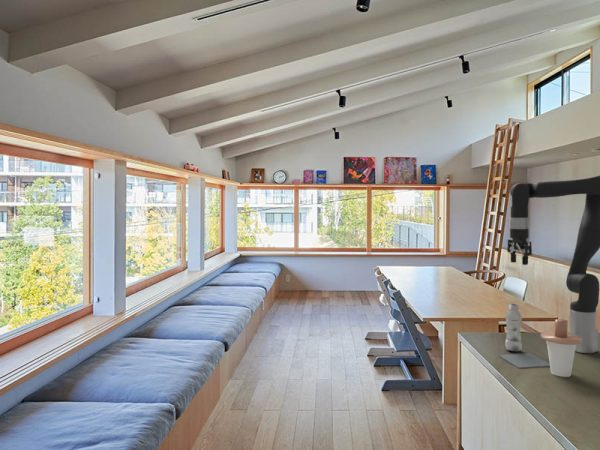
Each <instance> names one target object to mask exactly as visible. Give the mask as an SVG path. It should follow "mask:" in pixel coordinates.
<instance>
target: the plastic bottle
mask: <svg viewBox="0 0 600 450" xmlns="http://www.w3.org/2000/svg"><path fill="white" fill-rule="evenodd" d="M508 309H509V310H508V311H507V312H506V313H505V323H506V338H505V341H504V345H505V348H506V350H507V351H511V352H520V351H522V347H523V345H522V340H521V339H522V338H521V329H522V321H523V317H522V314H521V312H520V311H519V304H517V303H509V304H508Z"/></svg>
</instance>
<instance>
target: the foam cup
mask: <svg viewBox="0 0 600 450" xmlns="http://www.w3.org/2000/svg"><path fill="white" fill-rule="evenodd" d="M545 343H546V347H547V353H548V359H549V360H548V363H549V364H550V366H549V369H550V373H551V374H552V375H554V376H557V377H561V378H562V377H563V378H567V377H568V378H569V377H571V376H572V373H573V372H572V370H573V365H574V359H575V354H576V351H575V348H576V344H575V345H566V344H558V343H553V342H549V341H546V340H545Z"/></svg>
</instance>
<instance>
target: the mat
mask: <svg viewBox="0 0 600 450" xmlns="http://www.w3.org/2000/svg"><path fill="white" fill-rule="evenodd" d="M497 357H499V358H501V359H502V360H504V361H506V362H507V363H509V364H511V365H512V366H513V367H516V368H517V369H529V368H530V369H531V368H545V367H548V368H550V362H547V361H545V360H543V359H542V358H539V357H537V356H536V355H534V354H532V353H529V352H526V353H509V354H507V353H506V354H498V355H497Z"/></svg>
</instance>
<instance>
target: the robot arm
mask: <svg viewBox="0 0 600 450" xmlns="http://www.w3.org/2000/svg"><path fill="white" fill-rule="evenodd" d="M509 194H510V196H511V206H510V220H509V221H510V222H509V238H510V239H507V250H506V251H507V253H509V255H510V262H511V263H516V262H517V252H518V251H519V252H520V253H521V255H522V257H521V259H522V260H521V262H522V264H521V265H523V266H526V265H529V257H530V256H533V255H532V254H533V248H532V241H527V239H528V238H529V235H530V234H529V233H530V232H529V226H530V221H529V200H530V199H533V198H534V199H535V198H542V199H545V198H556V197H557V198H558V197H565V196H573V195H585V205H584V209H583V212H582V217H581V220H580V224H579V228H578V233H577V239H576V244H575V248H574V252H573V256H572V261H571V263H570V267H569V269H568V271H567V275H566V282H565V284H566V288H567V289H568V291H570V292H572V293H575V294H578V297H577V298H578V299H577V300H575V301H571V302H570V307H569V315H570V316H569V333H571V334H574V335H577V336H579V337H581V338H582V343H580V344H576V348H575V352H578V353H580V354H581V353H584V354H593V353H594V354H595V353H596V352H598V351H599V346H598V345H599V329H598V328H597V307H598V305H599V301H600V299H599V297H600V281H599V278H598V277H597V276H596V275H595V274H592V273H587V269H588V267H589V263H590V261H591V259H592V258H593V257H594V255H595V254H596V253H598V251H599V249H600V174H599V175H597V176H592V177H587V178H582V179H581V178H580V179H573V180H572V179H571V180H570V179H569V180H554V181H552V180H550V181H549V180H548V181H538V182H533V183H531V182H530V183H529V182H527V183H524V182H519V183H518V182H517V183H515V184H513V185H512V186H511V187H510V189H509Z"/></svg>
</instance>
